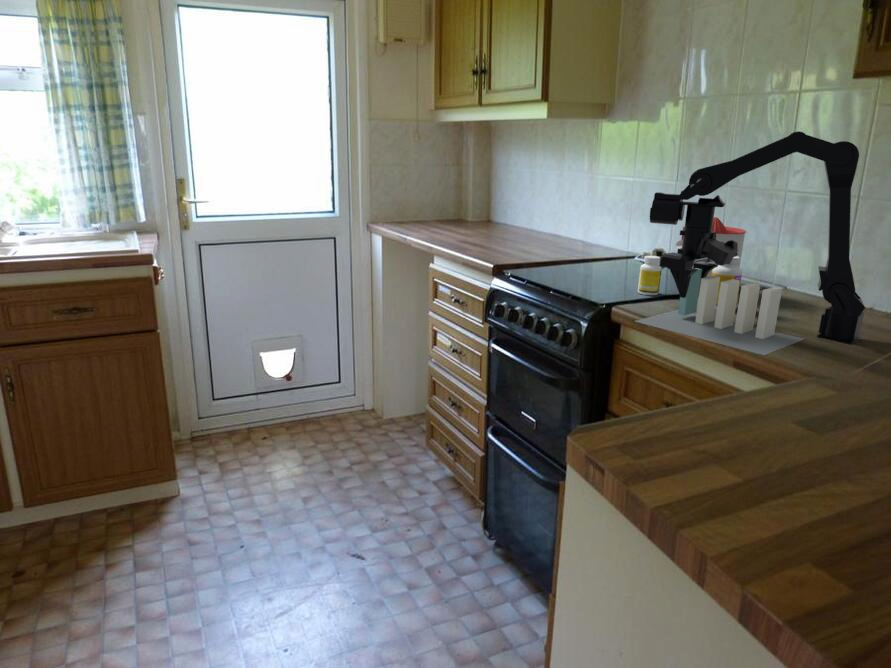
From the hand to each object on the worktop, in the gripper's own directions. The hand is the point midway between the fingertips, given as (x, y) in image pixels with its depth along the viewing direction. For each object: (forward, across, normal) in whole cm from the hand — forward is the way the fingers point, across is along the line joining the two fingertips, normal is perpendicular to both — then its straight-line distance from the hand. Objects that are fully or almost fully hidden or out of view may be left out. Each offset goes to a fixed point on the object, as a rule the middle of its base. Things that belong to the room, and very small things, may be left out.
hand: (689, 295), depth 149 cm
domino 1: (+5, 0, -4) cm, 7 cm away
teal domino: (+4, 0, 0) cm, 4 cm away
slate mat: (+5, -4, -10) cm, 12 cm away
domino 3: (+5, 0, -14) cm, 14 cm away
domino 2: (+5, 0, -9) cm, 10 cm away
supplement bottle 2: (+6, +16, 0) cm, 17 cm away
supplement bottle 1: (+6, +15, +20) cm, 26 cm away
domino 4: (+5, 0, -18) cm, 19 cm away
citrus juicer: (+6, +30, +13) cm, 33 cm away
